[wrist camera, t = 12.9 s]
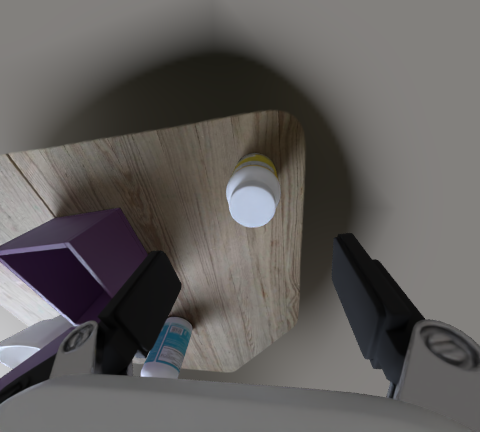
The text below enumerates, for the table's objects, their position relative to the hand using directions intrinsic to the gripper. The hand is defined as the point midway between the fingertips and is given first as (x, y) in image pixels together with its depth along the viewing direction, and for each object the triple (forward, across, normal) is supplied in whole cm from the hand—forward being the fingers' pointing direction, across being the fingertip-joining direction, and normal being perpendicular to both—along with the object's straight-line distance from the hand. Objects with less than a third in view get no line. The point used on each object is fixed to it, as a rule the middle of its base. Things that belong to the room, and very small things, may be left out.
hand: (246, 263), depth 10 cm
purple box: (+16, +29, +10) cm, 35 cm away
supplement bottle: (+16, 0, 0) cm, 16 cm away
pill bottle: (+16, +25, +34) cm, 45 cm away
